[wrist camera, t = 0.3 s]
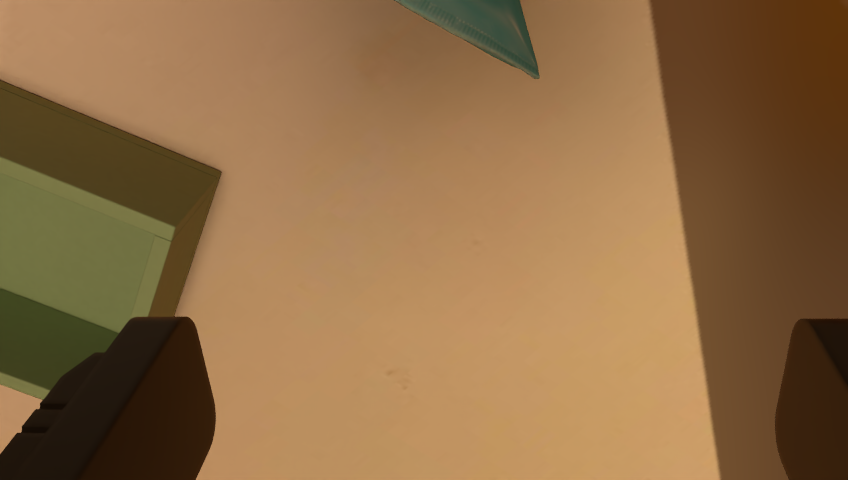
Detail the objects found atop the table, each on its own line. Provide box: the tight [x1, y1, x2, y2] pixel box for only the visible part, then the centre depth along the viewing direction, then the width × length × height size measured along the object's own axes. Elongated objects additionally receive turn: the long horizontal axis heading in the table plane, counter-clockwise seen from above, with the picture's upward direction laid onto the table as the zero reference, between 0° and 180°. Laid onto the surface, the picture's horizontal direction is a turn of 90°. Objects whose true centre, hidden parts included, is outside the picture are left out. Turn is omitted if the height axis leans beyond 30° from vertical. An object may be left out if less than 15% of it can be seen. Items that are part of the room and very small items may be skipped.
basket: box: [0, 81, 221, 400], centre depth 40 cm, size 13×13×7 cm
